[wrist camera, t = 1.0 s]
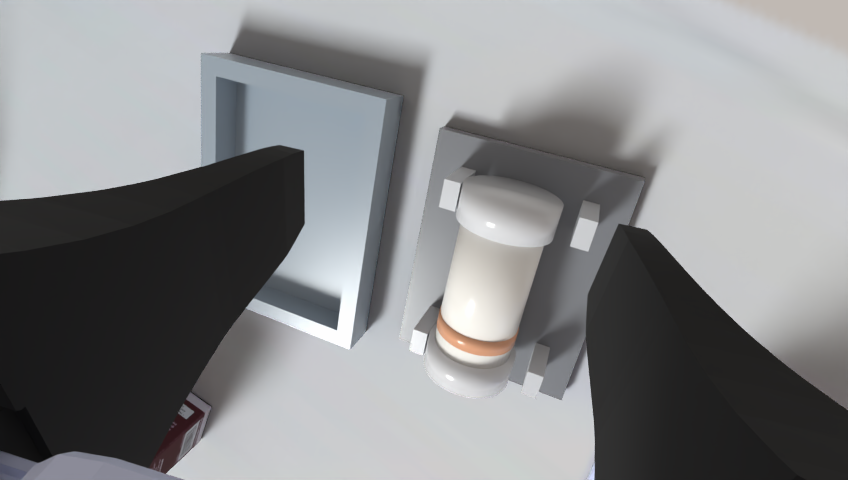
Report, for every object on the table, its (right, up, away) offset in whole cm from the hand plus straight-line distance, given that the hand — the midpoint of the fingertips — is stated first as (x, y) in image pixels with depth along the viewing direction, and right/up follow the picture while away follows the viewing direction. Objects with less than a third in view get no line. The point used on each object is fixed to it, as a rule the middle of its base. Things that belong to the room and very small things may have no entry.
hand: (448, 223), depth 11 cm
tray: (-8, +2, +19) cm, 21 cm away
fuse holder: (+4, -2, +16) cm, 16 cm away
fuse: (+4, -2, +15) cm, 16 cm away
